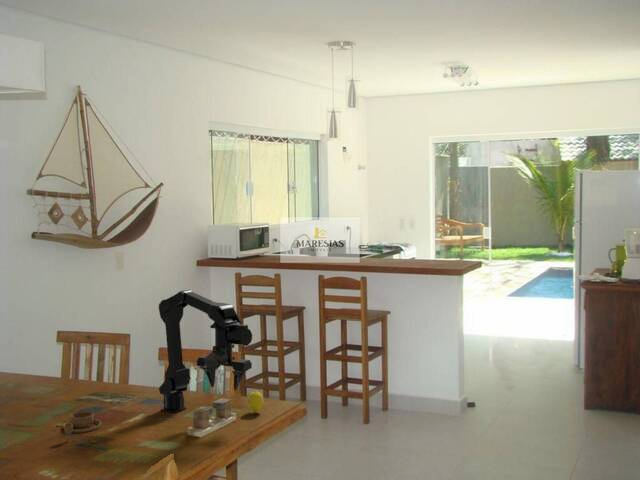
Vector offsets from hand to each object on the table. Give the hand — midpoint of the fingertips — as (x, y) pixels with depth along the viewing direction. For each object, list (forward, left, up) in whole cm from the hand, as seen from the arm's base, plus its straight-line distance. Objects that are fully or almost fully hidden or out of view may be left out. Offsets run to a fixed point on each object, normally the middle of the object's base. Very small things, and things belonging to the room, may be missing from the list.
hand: (224, 388), depth 257 cm
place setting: (-38, -30, -12) cm, 50 cm away
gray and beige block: (0, 0, -10) cm, 10 cm away
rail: (0, -6, -12) cm, 13 cm away
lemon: (+4, +14, -12) cm, 19 cm away
